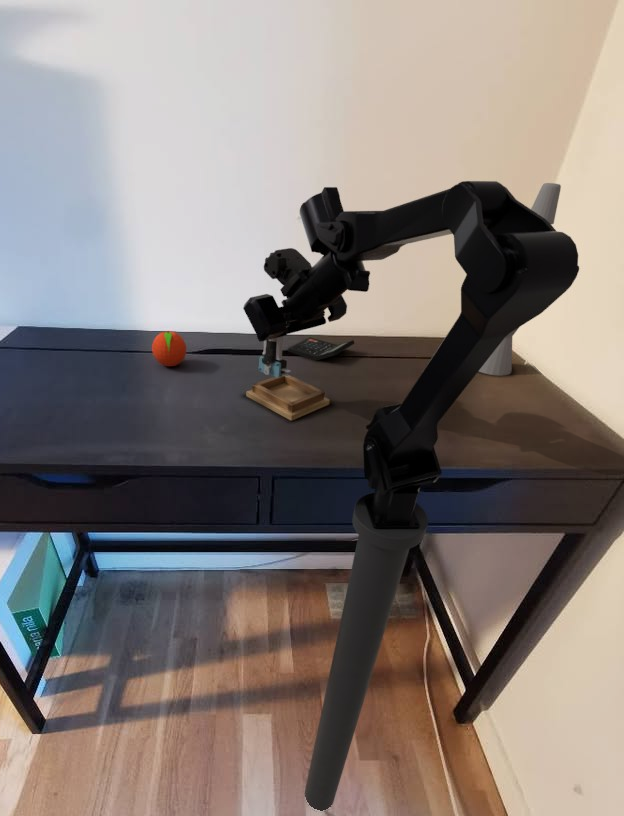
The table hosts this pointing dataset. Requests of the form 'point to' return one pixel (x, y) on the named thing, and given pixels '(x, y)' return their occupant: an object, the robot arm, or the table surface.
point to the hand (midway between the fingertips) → (270, 335)
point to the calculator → (318, 348)
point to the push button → (273, 358)
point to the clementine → (169, 348)
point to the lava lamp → (502, 355)
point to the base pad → (288, 396)
